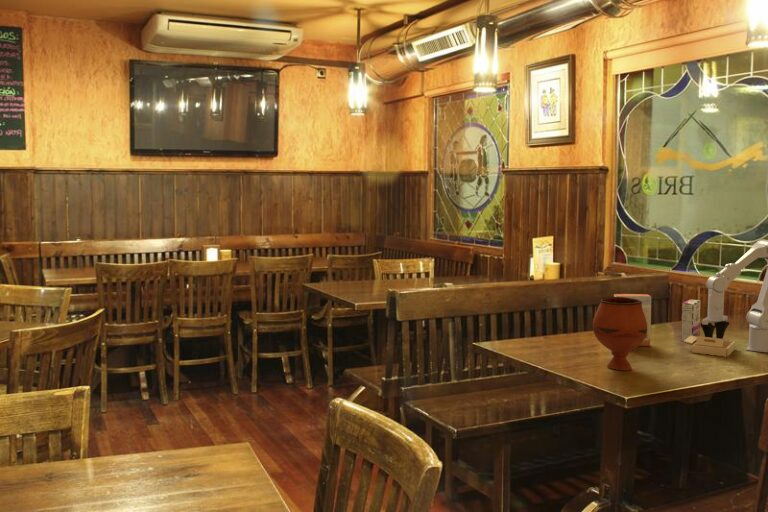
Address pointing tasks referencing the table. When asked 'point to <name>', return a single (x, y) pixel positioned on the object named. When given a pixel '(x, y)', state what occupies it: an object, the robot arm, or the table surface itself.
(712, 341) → the flap
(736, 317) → the table surface
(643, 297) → the cracker box
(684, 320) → the candy bar box
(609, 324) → the goblet
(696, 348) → the carton
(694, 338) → the flap
